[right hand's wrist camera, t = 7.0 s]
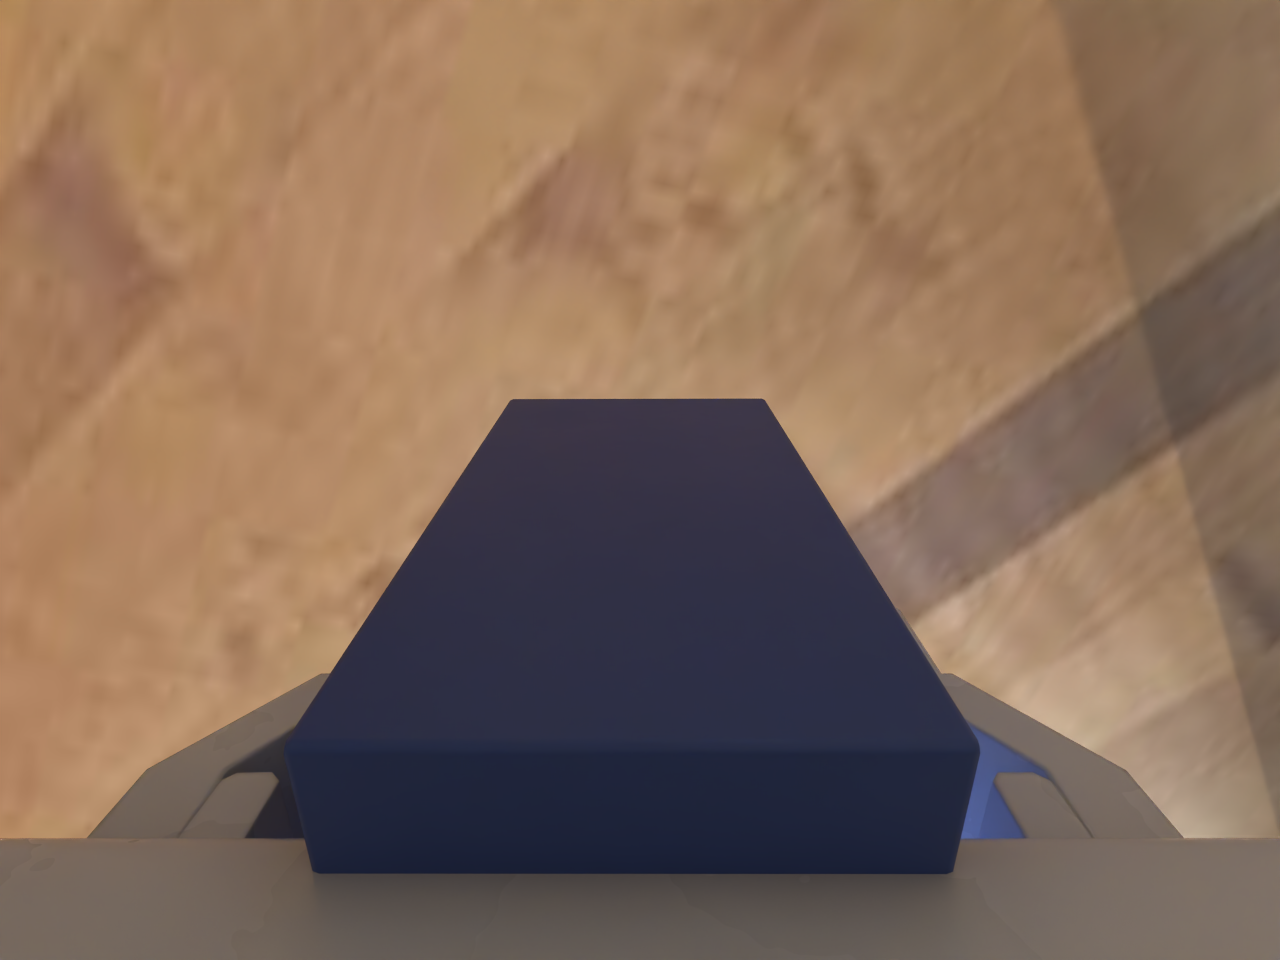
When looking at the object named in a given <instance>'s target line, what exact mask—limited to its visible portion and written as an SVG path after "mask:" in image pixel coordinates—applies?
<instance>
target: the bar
mask: <svg viewBox="0 0 1280 960" xmlns="http://www.w3.org/2000/svg"><path fill="white" fill-rule="evenodd" d="M283 755H284V759H285V763H286V767H287V771H288V775H289V779H290V783H291V787H292V791H293V795H294V799H295V803H296V807H297V811H298V815H299V819H300V823H301V827H302V831H303V835H304V839H305V843H306V847H307V851H308V855H309V859H310V863H311V867H312V871H314V872H316V873H319V874H948V873H951V872H953V870H954V865H955V861H956V857H957V852H958V848H959V844H960V839H961V835H962V831H963V826H964V822H965V818H966V813H967V809H968V805H969V800H970V796H971V792H972V787H973V783H974V779H975V774H976V770H977V766H978V761H979V757H980V745H979V742H978V739H977V738H976V736H975V735H974V733H973V731H972V730H971V728H970V727H969V725H968V723H967V722H966V720H965V719H964V717H963V715H962V714H961V712H960V711H959V709H958V707H957V706H956V704H955V703H954V701H953V700H952V698H951V696H950V695H949V693H948V692H947V690H946V688H945V687H944V685H943V684H942V682H941V680H940V679H939V677H938V676H937V674H936V672H935V671H934V669H933V668H932V666H931V664H930V663H929V661H928V660H927V658H926V656H925V655H924V653H923V652H922V650H921V648H920V647H919V645H918V644H917V642H916V641H915V639H914V637H913V636H912V634H911V633H910V631H909V629H908V628H907V626H906V625H905V623H904V621H903V620H902V618H901V617H900V615H899V613H898V612H897V610H896V609H895V607H894V605H893V604H892V602H891V601H890V599H889V597H888V596H887V594H886V593H885V591H884V590H883V588H882V586H881V585H880V583H879V582H878V580H877V578H876V577H875V575H874V574H873V572H872V570H871V569H870V567H869V566H868V564H867V562H866V561H865V559H864V558H863V556H862V554H861V553H860V551H859V550H858V548H857V546H856V545H855V543H854V542H853V540H852V538H851V537H850V535H849V534H848V532H847V531H846V529H845V527H844V526H843V524H842V523H841V521H840V519H839V518H838V516H837V515H836V513H835V511H834V510H833V508H832V507H831V505H830V503H829V502H828V500H827V499H826V497H825V495H824V494H823V492H822V491H821V489H820V487H819V486H818V484H817V483H816V481H815V480H814V478H813V476H812V475H811V473H810V472H809V470H808V468H807V467H806V465H805V464H804V462H803V460H802V459H801V457H800V456H799V454H798V452H797V451H796V449H795V448H794V446H793V444H792V443H791V441H790V440H789V438H788V436H787V435H786V433H785V432H784V430H783V428H782V427H781V425H780V424H779V422H778V421H777V419H776V417H775V416H774V414H773V413H772V411H771V409H770V408H769V406H768V405H767V403H766V401H765V400H763V399H513V400H511V401H510V402H509V403H508V405H507V406H506V408H505V409H504V411H503V412H502V414H501V415H500V417H499V419H498V420H497V422H496V423H495V425H494V426H493V428H492V429H491V431H490V432H489V434H488V435H487V437H486V438H485V440H484V441H483V443H482V444H481V446H480V447H479V449H478V450H477V452H476V453H475V455H474V456H473V458H472V459H471V461H470V462H469V464H468V466H467V467H466V469H465V470H464V472H463V473H462V475H461V476H460V478H459V479H458V481H457V482H456V484H455V485H454V487H453V488H452V490H451V491H450V493H449V494H448V496H447V497H446V499H445V500H444V502H443V503H442V505H441V506H440V508H439V510H438V511H437V513H436V514H435V516H434V517H433V519H432V520H431V522H430V523H429V525H428V526H427V528H426V529H425V531H424V532H423V534H422V535H421V537H420V538H419V540H418V541H417V543H416V544H415V546H414V547H413V549H412V550H411V552H410V553H409V555H408V557H407V558H406V560H405V561H404V563H403V564H402V566H401V567H400V569H399V570H398V572H397V573H396V575H395V576H394V578H393V579H392V581H391V582H390V584H389V585H388V587H387V588H386V590H385V591H384V593H383V594H382V596H381V597H380V599H379V601H378V602H377V604H376V605H375V607H374V608H373V610H372V611H371V613H370V614H369V616H368V617H367V619H366V620H365V622H364V623H363V625H362V626H361V628H360V629H359V631H358V632H357V634H356V635H355V637H354V638H353V640H352V641H351V643H350V645H349V646H348V648H347V649H346V651H345V652H344V654H343V655H342V657H341V658H340V660H339V661H338V663H337V664H336V666H335V667H334V669H333V670H332V672H331V673H330V675H329V676H328V678H327V679H326V681H325V682H324V684H323V685H322V687H321V688H320V690H319V692H318V693H317V695H316V696H315V698H314V699H313V701H312V702H311V704H310V705H309V707H308V708H307V710H306V711H305V713H304V714H303V716H302V717H301V719H300V720H299V722H298V723H297V725H296V726H295V728H294V729H293V731H292V732H291V734H290V736H289V737H288V739H287V740H286V742H285V746H284V753H283Z"/></svg>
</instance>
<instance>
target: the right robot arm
mask: <svg viewBox="0 0 1280 960" xmlns="http://www.w3.org/2000/svg"><path fill="white" fill-rule="evenodd" d="M895 609H896V610H897V612H898V613H899V615H900V617H901V618H902V620H903V621H904V623H905V625H906V626H907V628H908V629H909V631H910V633H911V634H912V636H913V637H914V639H915V641H916V642H917V644H918V645H919V647H920V648H921V650H922V652H923V653H924V655H925V656H926V658H927V660H928V661H929V663H930V664H931V666H932V668H933V669H934V671H935V672H936V674H937V676H938V677H939V679H940V680H941V682H942V684H943V685H944V687H945V688H946V690H947V692H948V693H949V695H950V696H951V698H952V700H953V701H954V703H955V704H956V706H957V707H958V709H959V711H960V712H961V714H962V715H963V717H964V719H965V720H966V722H967V723H968V725H969V727H970V728H971V730H972V731H973V733H974V735H975V736H976V738H977V739H978V742H979V745H980V757H979V761H978V766H977V770H976V774H975V779H974V783H973V787H972V792H971V796H970V800H969V805H968V809H967V813H966V818H965V822H964V826H963V831H962V835H961V839H960V844H959V848H958V852H957V857H956V861H955V865H954V870H953V872H951V873H948V874H319V873H316V872H314V871H312V867H311V863H310V859H309V855H308V851H307V847H306V843H305V839H304V835H303V831H302V827H301V823H300V819H299V815H298V811H297V807H296V803H295V799H294V795H293V791H292V787H291V783H290V779H289V775H288V771H287V767H286V763H285V759H284V755H283V753H284V746H285V742H286V740H287V739H288V737H289V736H290V734H291V732H292V731H293V729H294V728H295V726H296V725H297V723H298V722H299V720H300V719H301V717H302V716H303V714H304V713H305V711H306V710H307V708H308V707H309V705H310V704H311V702H312V701H313V699H314V698H315V696H316V695H317V693H318V692H319V690H320V688H321V687H322V685H323V684H324V682H325V681H326V679H327V678H328V676H329V675H330V674H320V675H318V676H316V677H314V678H312V679H311V680H309V681H307V682H305V683H303V684H301V685H300V686H298V687H296V688H294V689H292V690H290V691H289V692H287V693H285V694H283V695H281V696H280V697H278V698H276V699H274V700H272V701H270V702H269V703H267V704H265V705H263V706H261V707H260V708H258V709H256V710H254V711H252V712H250V713H249V714H247V715H245V716H243V717H241V718H240V719H238V720H236V721H234V722H232V723H230V724H229V725H227V726H225V727H223V728H221V729H219V730H218V731H216V732H214V733H212V734H210V735H209V736H207V737H205V738H203V739H201V740H199V741H198V742H196V743H194V744H192V745H190V746H189V747H187V748H185V749H183V750H181V751H179V752H178V753H176V754H174V755H172V756H170V757H168V758H167V759H165V760H163V761H161V762H159V763H158V764H156V765H154V766H152V767H150V768H148V769H147V770H146V771H145V772H144V773H143V774H142V775H141V777H140V778H139V779H138V780H137V781H136V782H135V783H134V785H133V786H132V787H131V788H130V789H129V790H128V791H127V793H126V794H125V795H124V796H123V797H122V798H121V799H120V801H119V802H118V803H117V804H116V805H115V806H114V807H113V809H112V810H111V811H110V812H109V813H108V814H107V815H106V817H105V818H104V819H103V820H102V821H101V822H100V823H99V825H98V826H97V827H96V828H95V829H94V830H93V831H92V833H91V834H90V835H89V836H88V837H87V838H0V960H1280V838H1183V837H1182V835H1181V834H1180V833H1179V832H1178V831H1177V830H1176V828H1175V827H1174V826H1173V825H1172V824H1171V823H1170V821H1169V820H1168V819H1167V818H1166V817H1165V815H1164V814H1163V813H1162V812H1161V811H1160V810H1159V808H1158V807H1157V806H1156V805H1155V804H1154V803H1153V801H1152V800H1151V799H1150V798H1149V797H1148V796H1147V794H1146V793H1145V792H1144V791H1143V790H1142V789H1141V787H1140V786H1139V785H1138V784H1137V783H1136V782H1135V780H1134V779H1133V778H1132V777H1131V776H1130V774H1129V773H1128V772H1127V771H1126V770H1124V769H1122V768H1121V767H1119V766H1117V765H1115V764H1113V763H1112V762H1110V761H1108V760H1106V759H1104V758H1103V757H1101V756H1099V755H1097V754H1096V753H1094V752H1092V751H1090V750H1088V749H1087V748H1085V747H1083V746H1081V745H1079V744H1078V743H1076V742H1074V741H1072V740H1070V739H1069V738H1067V737H1065V736H1063V735H1061V734H1060V733H1058V732H1056V731H1054V730H1052V729H1051V728H1049V727H1047V726H1045V725H1043V724H1042V723H1040V722H1038V721H1036V720H1034V719H1033V718H1031V717H1029V716H1027V715H1025V714H1024V713H1022V712H1020V711H1018V710H1016V709H1015V708H1013V707H1011V706H1009V705H1007V704H1006V703H1004V702H1002V701H1000V700H998V699H997V698H995V697H993V696H991V695H989V694H988V693H986V692H984V691H982V690H980V689H979V688H977V687H975V686H973V685H971V684H970V683H968V682H966V681H964V680H962V679H961V678H959V677H957V676H955V675H953V674H941V672H940V671H939V669H938V668H937V666H936V665H935V663H934V661H933V660H932V658H931V657H930V655H929V654H928V652H927V651H926V649H925V648H924V646H923V645H922V643H921V642H920V640H919V639H918V637H917V635H916V634H915V632H914V631H913V629H912V628H911V626H910V625H909V623H908V622H907V620H906V619H905V617H904V616H903V614H902V613H901V611H900V610H899V609H897V608H895Z"/></svg>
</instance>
